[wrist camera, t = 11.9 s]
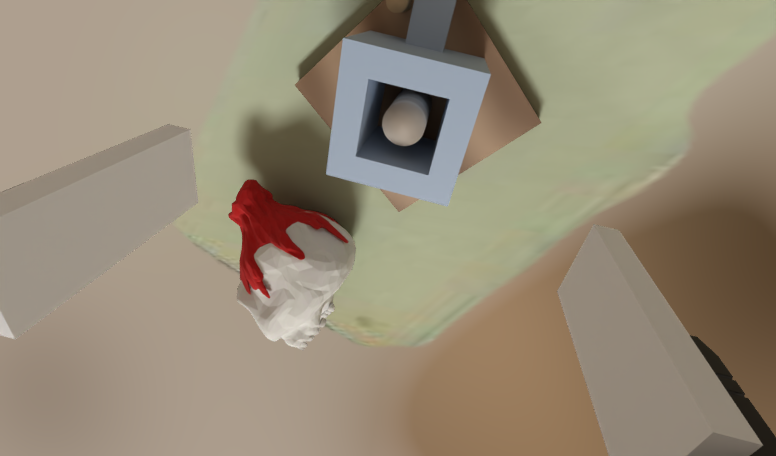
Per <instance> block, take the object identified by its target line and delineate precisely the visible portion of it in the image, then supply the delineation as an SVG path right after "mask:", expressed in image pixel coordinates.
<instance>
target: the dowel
mask: <svg viewBox="0 0 776 456" xmlns="http://www.w3.org/2000/svg"><path fill="white" fill-rule="evenodd" d="M386 5H387V7H388V9H389V10H390V11H391V12H393V13H400V12H406V11H408V10H409V9H410V7H411V5H412V0H386Z"/></svg>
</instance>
